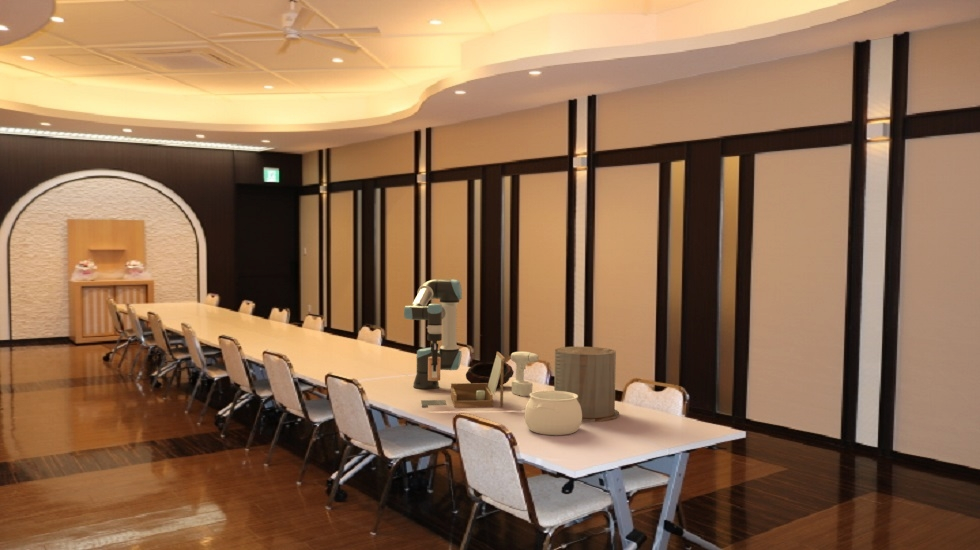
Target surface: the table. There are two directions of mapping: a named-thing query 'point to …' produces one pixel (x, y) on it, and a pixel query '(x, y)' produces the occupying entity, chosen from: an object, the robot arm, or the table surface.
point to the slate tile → (432, 402)
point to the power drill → (522, 372)
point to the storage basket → (588, 380)
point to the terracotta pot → (431, 369)
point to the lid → (495, 373)
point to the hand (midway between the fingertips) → (434, 376)
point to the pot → (553, 412)
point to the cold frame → (474, 393)
